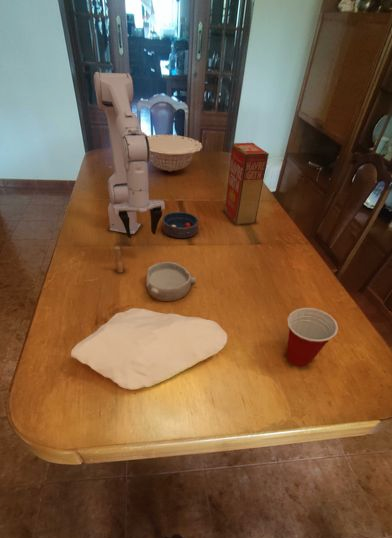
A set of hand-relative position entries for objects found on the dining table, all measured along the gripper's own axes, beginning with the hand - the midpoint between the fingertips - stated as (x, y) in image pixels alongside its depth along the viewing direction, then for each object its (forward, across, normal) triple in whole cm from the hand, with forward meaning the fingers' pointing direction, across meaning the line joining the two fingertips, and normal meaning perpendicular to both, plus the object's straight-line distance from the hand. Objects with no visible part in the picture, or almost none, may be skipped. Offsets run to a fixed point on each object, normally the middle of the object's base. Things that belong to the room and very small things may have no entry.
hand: (141, 234), depth 96 cm
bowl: (+10, +19, +17) cm, 28 cm away
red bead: (+8, +22, +17) cm, 29 cm away
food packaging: (+10, +47, +22) cm, 53 cm away
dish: (+10, +4, -16) cm, 19 cm away
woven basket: (+10, +36, +78) cm, 86 cm away
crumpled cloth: (+10, -9, -39) cm, 41 cm away
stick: (+10, -8, -3) cm, 13 cm away
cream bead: (+8, +16, +17) cm, 25 cm away
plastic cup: (+10, +24, -52) cm, 58 cm away
